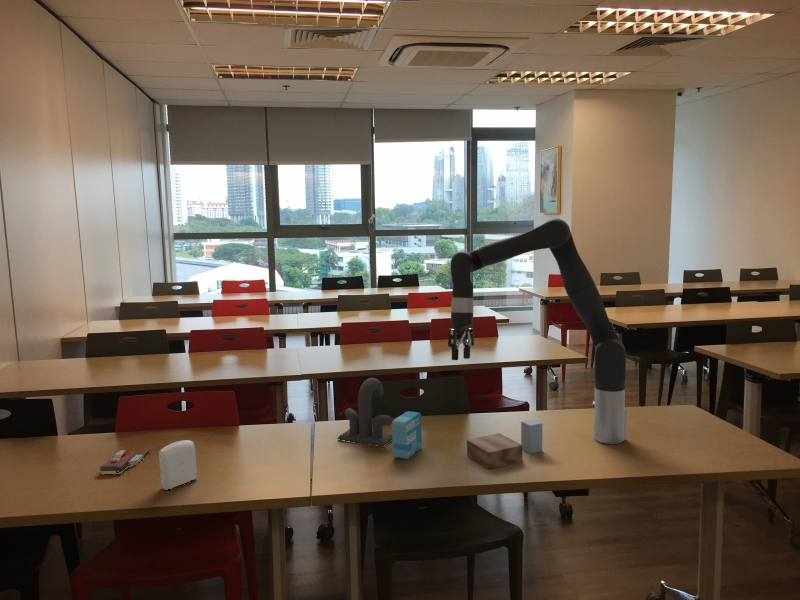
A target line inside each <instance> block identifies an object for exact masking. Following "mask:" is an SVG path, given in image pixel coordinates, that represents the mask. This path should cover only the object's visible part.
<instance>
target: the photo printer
mask: <svg viewBox="0 0 800 600" xmlns="http://www.w3.org/2000/svg"><path fill="white" fill-rule="evenodd" d="M195 447H196V446H195V444H194V442H193V441H192V440H187V439H185V440H178V441H174V442H172V443H169V444H168V445H166V446H164V447H163V448H161V449H160V450H159V451H158V462H159V463H158V464H159V473H160V482H161V483H160V484H161V488H162V487H164V488H171V487H174V486H177V485H180V484H183V483H185V482H187V481H190V480H193V479H195V478H197V479H198V469H197V468H198V467H197V457H196V448H195Z"/></svg>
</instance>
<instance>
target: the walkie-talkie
mask: <svg viewBox="0 0 800 600" xmlns="http://www.w3.org/2000/svg"><path fill="white" fill-rule="evenodd" d="M150 448H151V447H150V446H149V447H147V448H146V449H145V450H144V451H143V452H141V453H140V454H136V452H129V450H127V449H123V450H122V449H121V450H118V451H117V452H116V453H115V454H114V455H112V457H110V458H109V459H108V460H107V461H106V462H104V464H102V465H101V466H99V468H100V469H99V470H101V471H116V473H119V472H121V471H123V470H124V469H125V468H126V467H127V466H129V465H131V464H133V463H135V462H138V461H139V460H140V459H141V458H142V457H143V458H144V456H143V454H144V453H145V452H147V450H149V449H150ZM150 450H151V449H150ZM150 450H149V451H150ZM128 464H129V465H128ZM117 471H119V472H117Z"/></svg>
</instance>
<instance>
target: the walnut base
mask: <svg viewBox="0 0 800 600" xmlns="http://www.w3.org/2000/svg"><path fill="white" fill-rule="evenodd" d="M466 455H467V457H469V458H471V460H474V461H475V462H477V463H478V464H480V465H482V466H483V467H484V468H486V469H488V470H491V469H494V468H500V467H504V466H508V465H511V464H516V463H521V462H523V458H524V457H523V455H524V454H523V450H522V445H521V443H519V442H518V441H516V440H513V439H512V438H510V437H507V436H505V435H503V434H502V433H500V432H499V433H495V434H494V433H493V434H488V435H485V436H480V437H474V438H469V439H466Z"/></svg>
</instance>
